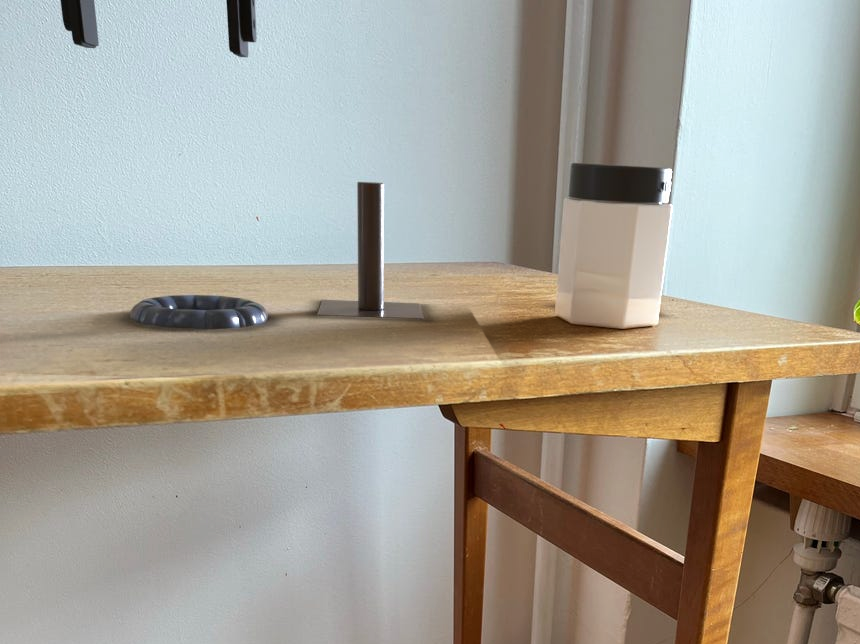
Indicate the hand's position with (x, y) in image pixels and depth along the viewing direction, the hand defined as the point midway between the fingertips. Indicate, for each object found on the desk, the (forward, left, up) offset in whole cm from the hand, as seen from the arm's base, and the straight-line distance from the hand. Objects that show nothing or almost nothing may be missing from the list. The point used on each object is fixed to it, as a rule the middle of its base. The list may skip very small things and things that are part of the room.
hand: (163, 50), depth 63 cm
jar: (+33, +11, -17) cm, 39 cm away
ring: (+1, -1, -16) cm, 16 cm away
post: (+13, +6, -17) cm, 23 cm away
